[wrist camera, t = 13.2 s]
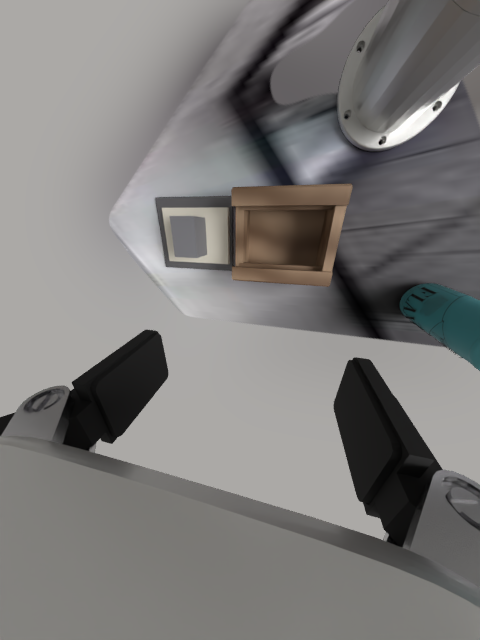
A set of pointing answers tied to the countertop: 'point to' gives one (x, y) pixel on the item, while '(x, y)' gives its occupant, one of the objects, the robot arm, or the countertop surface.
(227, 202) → the charcoal mat
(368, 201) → the countertop surface
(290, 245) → the walnut box
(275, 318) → the countertop surface
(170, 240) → the cover plate
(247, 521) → the robot arm
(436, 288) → the beverage bottle
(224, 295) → the countertop surface
